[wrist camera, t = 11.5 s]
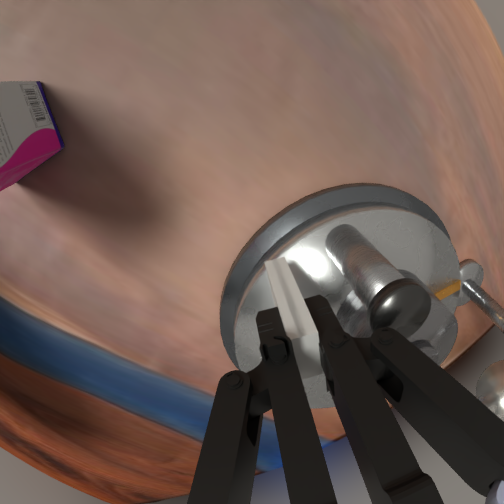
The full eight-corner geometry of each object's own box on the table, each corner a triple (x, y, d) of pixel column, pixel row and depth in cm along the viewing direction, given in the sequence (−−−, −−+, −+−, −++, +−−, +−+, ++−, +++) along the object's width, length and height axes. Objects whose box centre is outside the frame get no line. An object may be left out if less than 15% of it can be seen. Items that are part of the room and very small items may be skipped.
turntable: (277, 414, 30) (293, 493, 21) (187, 264, 21) (172, 375, 12) (443, 342, 28) (488, 404, 19) (441, 167, 19) (539, 213, 11)
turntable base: (296, 413, 32) (298, 420, 31) (162, 287, 23) (160, 295, 22) (459, 314, 28) (464, 320, 27) (409, 130, 19) (418, 132, 18)
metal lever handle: (414, 332, 28) (487, 443, 15) (405, 303, 26) (493, 425, 13) (479, 283, 27) (564, 371, 13) (475, 250, 25) (578, 340, 11)
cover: (343, 364, 24) (368, 422, 19) (324, 295, 21) (356, 359, 15) (423, 327, 24) (459, 374, 18) (421, 252, 20) (473, 299, 14)
